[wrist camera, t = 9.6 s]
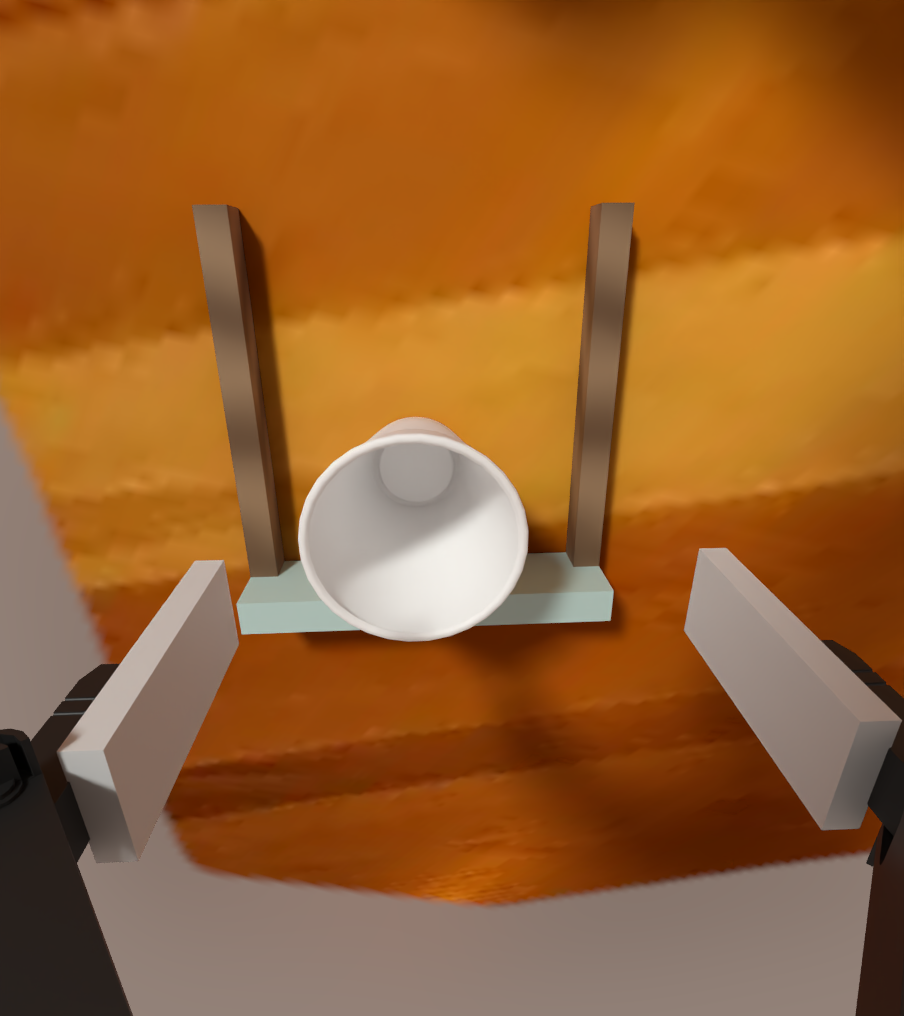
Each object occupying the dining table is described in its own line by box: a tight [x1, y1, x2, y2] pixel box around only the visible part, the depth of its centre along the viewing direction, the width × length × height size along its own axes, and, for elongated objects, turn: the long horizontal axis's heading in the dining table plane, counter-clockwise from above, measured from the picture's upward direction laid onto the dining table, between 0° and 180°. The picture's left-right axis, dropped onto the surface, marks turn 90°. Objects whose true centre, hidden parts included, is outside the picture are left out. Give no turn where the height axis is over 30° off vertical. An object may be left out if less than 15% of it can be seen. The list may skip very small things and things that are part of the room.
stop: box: [237, 552, 614, 634], centre depth 36 cm, size 2×21×5 cm, turn 90°
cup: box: [298, 417, 529, 642], centre depth 30 cm, size 10×10×11 cm
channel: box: [192, 203, 634, 577], centre depth 33 cm, size 22×21×2 cm
